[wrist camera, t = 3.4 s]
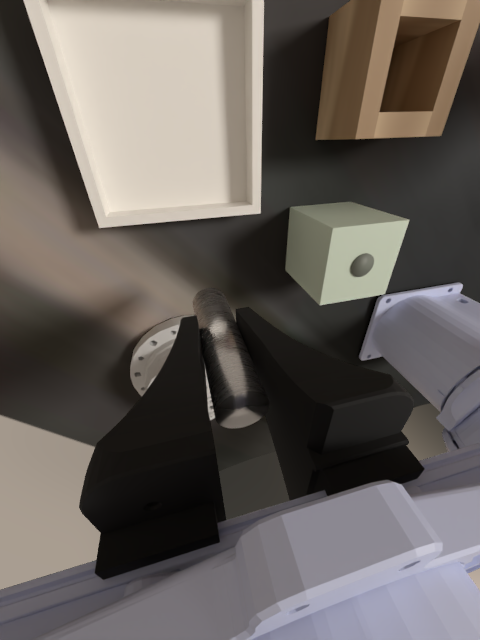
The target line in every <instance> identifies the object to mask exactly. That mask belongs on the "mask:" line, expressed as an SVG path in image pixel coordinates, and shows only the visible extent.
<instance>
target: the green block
mask: <svg viewBox="0 0 480 640" xmlns="http://www.w3.org/2000/svg"><path fill="white" fill-rule="evenodd" d="M408 223H409V220H408V219H405V218H402V217H398V216H395V215H392V214H389V213H385V212H382V211H379V210H376V209H372V208H369V207H366V206H363V205H359V204H356V203H353V202H342V203H331V204H319V205H308V206H297V207H290V214H289V227H288V240H287V253H286V266H285V270H286V271H287V273H288V274H289V275H290V276H291V277H292V278H293V279H294V280H295V281H296V282H297V283H298V284H299V285H300V286H301V287H302V288H303V289H304V290H305V291H306V292H307V293H308V294H309V295H310V296H311V297H312V298H313V299H314V300H315V301H316V302H317V303H318V304H319V305H324V304H330V303H336V302H342V301H348V300H354V299H360V298H366V297H372V296H378V295H383V294H385V292H386V289H387V286H388V283H389V280H390V277H391V274H392V271H393V268H394V265H395V262H396V259H397V256H398V253H399V250H400V247H401V244H402V241H403V238H404V235H405V232H406V229H407V226H408Z"/></svg>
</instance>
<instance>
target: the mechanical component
mask: <svg viewBox="0 0 480 640" xmlns="http://www.w3.org/2000/svg"><path fill="white" fill-rule="evenodd" d="M191 316H195V315H191ZM183 317H189V316H180V317H176V318H172V319H169V320H167V321H165V322H163V323H160V324H158V325H156V326H155V327H153V328H152V329H151V330H150V331H149V332H147V333H146V334H145V335H144V336H142V338H141V339H140V341H139V342H138V344H137V345H136V347H135V348H134V350H133V355H132V360H131V366H130V377H131V380H132V383H133V386H134V387H135V389H136V390H137V391H138V393H139V394H140V395H141V396H143V394H144V393H145V392H146V391H147V389H148V388H149V386H150V385H151V384H152V382H153V381H154V379H155V378H156V376H157V375H158V373H159V371H160V370H161V368H162V366H163V364H164V363H165V361H166V359H167V357H168V355H169V353H170V351H171V349H172V346H173V344H174V341H175V339H176V336H177V333H178V330H179V326H180V320H181V319H182V318H183ZM204 365H205V364H204ZM205 374H206V369H205ZM206 387H207V401H208V412H209V418H210V420H212V419H214V418H215V414H214V409H213V404H212V399H211V394H210V389H209V384H208V379H207V374H206Z"/></svg>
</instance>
